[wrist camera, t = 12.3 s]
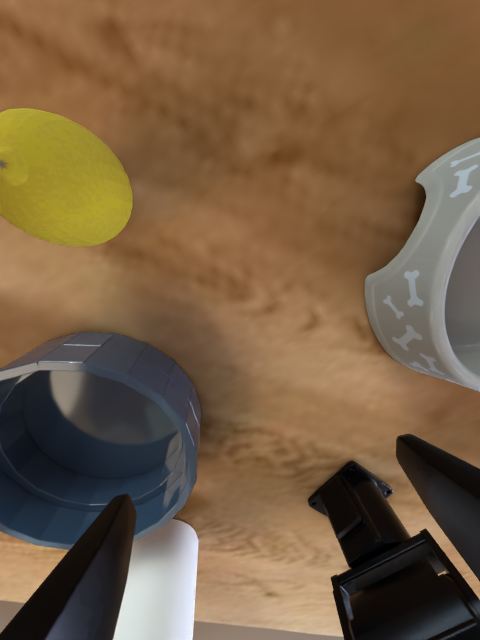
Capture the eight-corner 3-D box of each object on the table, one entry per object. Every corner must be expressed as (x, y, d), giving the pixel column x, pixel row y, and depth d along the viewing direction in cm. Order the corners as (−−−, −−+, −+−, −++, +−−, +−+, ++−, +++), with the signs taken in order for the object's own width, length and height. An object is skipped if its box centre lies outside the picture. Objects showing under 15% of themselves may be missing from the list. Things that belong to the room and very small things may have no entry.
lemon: (83, 255, 17) (-28, 267, 9) (40, 165, 15) (-140, 87, 7) (161, 232, 17) (114, 224, 9) (127, 139, 15) (36, 34, 7)
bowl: (237, 400, 21) (243, 446, 16) (136, 509, 24) (116, 575, 19) (71, 289, 17) (16, 307, 13) (-27, 434, 20) (-103, 493, 15)
